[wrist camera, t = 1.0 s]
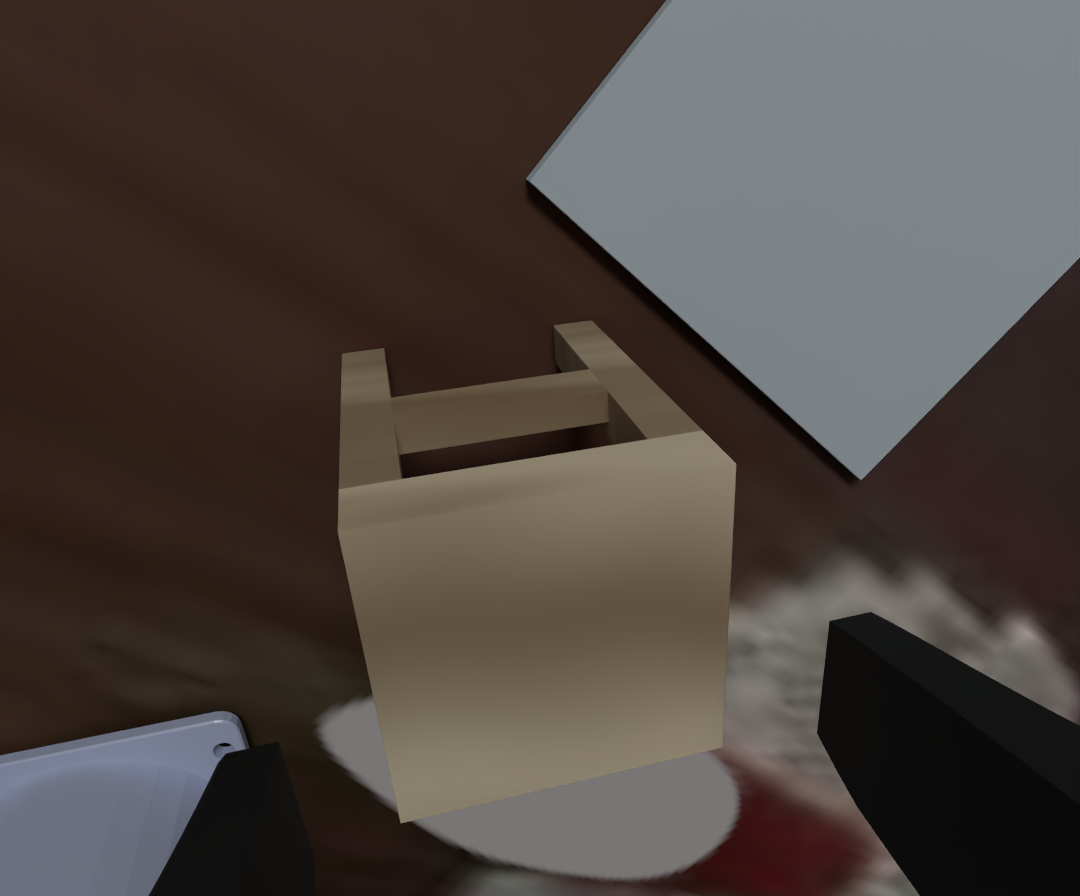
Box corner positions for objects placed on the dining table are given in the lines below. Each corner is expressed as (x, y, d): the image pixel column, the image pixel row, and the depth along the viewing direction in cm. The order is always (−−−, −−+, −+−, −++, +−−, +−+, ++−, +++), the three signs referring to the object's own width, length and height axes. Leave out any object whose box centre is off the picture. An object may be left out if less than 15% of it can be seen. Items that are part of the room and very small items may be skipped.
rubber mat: (1206, 110, 19) (1223, 110, 19) (852, 473, 21) (861, 479, 21) (957, -370, 14) (972, -382, 13) (525, 179, 16) (529, 180, 16)
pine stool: (599, 528, 20) (722, 747, 14) (382, 567, 19) (400, 823, 13) (591, 320, 18) (736, 463, 11) (342, 353, 17) (337, 531, 10)
